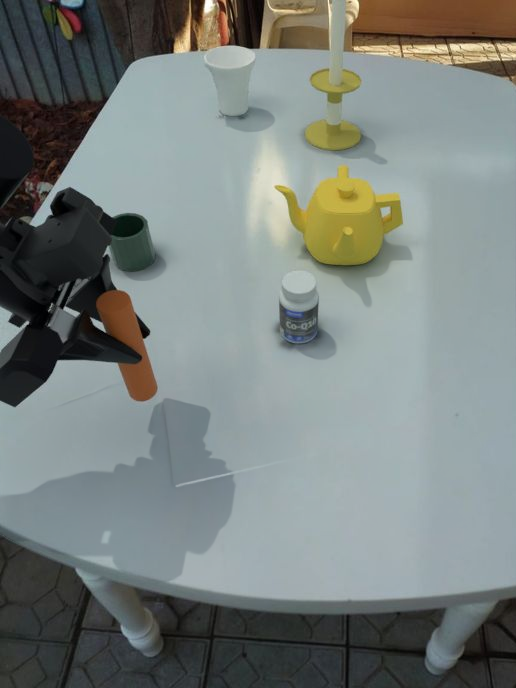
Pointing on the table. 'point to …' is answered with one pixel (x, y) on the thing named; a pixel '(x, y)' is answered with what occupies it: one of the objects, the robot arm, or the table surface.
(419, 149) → the table surface
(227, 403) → the table surface
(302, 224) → the teapot
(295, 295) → the pill bottle
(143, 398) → the orange cylindrical rod
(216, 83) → the cup
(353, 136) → the candle
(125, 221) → the green cylindrical container
